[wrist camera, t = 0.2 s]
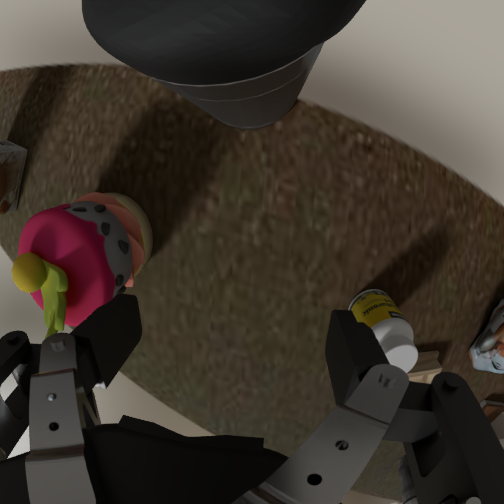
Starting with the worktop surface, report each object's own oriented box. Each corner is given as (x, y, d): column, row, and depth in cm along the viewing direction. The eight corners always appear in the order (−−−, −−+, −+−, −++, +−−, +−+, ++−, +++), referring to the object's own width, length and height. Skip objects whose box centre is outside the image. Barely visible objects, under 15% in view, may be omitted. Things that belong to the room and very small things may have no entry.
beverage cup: (427, 450, 41) (450, 518, 22) (403, 467, 43) (421, 533, 25) (410, 447, 40) (433, 523, 22) (385, 465, 43) (402, 538, 24)
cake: (70, 252, 30) (-14, 308, 16) (93, 173, 27) (-12, 198, 13) (138, 295, 31) (70, 379, 17) (171, 216, 28) (88, 276, 14)
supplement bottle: (393, 286, 29) (432, 334, 20) (385, 326, 31) (415, 380, 22) (349, 288, 29) (377, 341, 20) (343, 329, 31) (364, 388, 22)
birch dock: (373, 357, 32) (380, 372, 29) (437, 350, 32) (446, 362, 29) (355, 411, 36) (358, 426, 33) (413, 403, 35) (419, 416, 33)
